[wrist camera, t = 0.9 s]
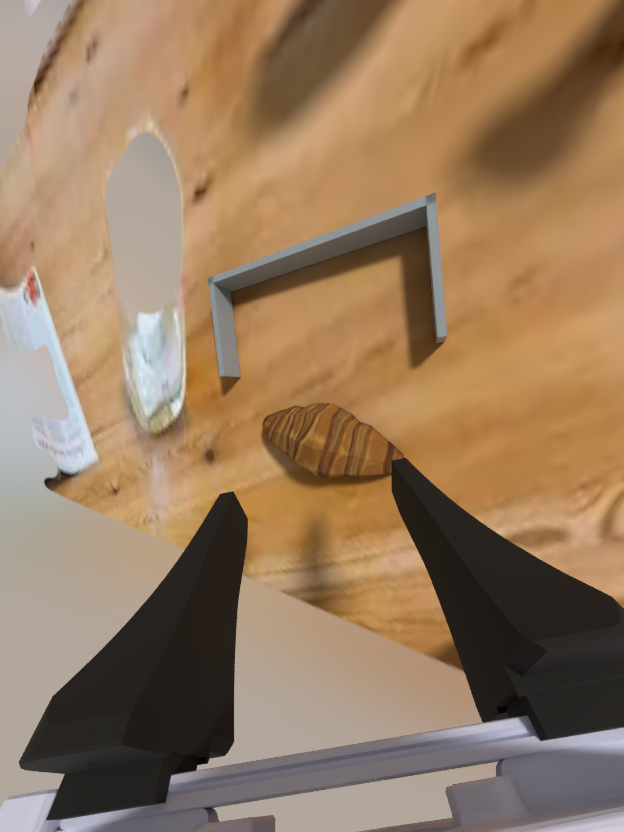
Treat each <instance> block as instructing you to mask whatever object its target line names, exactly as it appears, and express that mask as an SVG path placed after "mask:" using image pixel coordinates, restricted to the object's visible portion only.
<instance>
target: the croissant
mask: <svg viewBox="0 0 624 832" xmlns="http://www.w3.org/2000/svg"><path fill="white" fill-rule="evenodd" d="M263 430H264V432H265V433H266V435H267V436H268V438H269V439H270V440H271V441H272V442H273V443H274V444H275V445H277V446H278V447H279V448H280V449H281V450H282V451H283V452H284V453H285V454H287V455H289V456H290V457H291V458H292V459H293V460H294V461H295V462H296V463H297V464H298V465H300V466H301V467H303V468H304V469H306V470H307V471H309V472H310V473H311V474H313V475H314V476H316V477H326V478H339V477H343V476H348V475H349V476H352V477H354V478H357V479H359V478H366V477H373V476H380V475H385V474H389V473H391V460H396V459H401V458H403V453H401V452H400V451H399V450H398V449H397V448H396V447H395V446H394V445H393V444H392V443H390V442H389V441H388V440H387V439H386V438H385V437H384V436H382V435H381V434H380V433H379V432H378V431H377V430H376V429H374V428H373V427H372V426H371V425H368V424H365V423H362V422H360V421H359V420H358V419H357V418H356V417H355V416H353V415H352V414H351V413H350V412H348V411H346V410H344V409H342V408H340V407H338V406H336V405H334V404H332V403H331V404H311V405H309V406H307V407H305V408H304V407H299V406H294V407H291V408H288V409H285V410H282V411H279V412H276V413H274V414H271V415H268V416H267V417H265V419H264V422H263Z"/></svg>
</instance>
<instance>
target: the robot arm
mask: <svg viewBox="0 0 624 832" xmlns="http://www.w3.org/2000/svg"><path fill="white" fill-rule="evenodd" d="M391 474H392V493H393V496H394V499H395V502H396V504H397V507H398V510H399V512H400V515H401V517H402V519H403V521H404V523H405V525H406V527H407V529H408V531H409V533H410V535H411V537H412V539H413V541H414V543H415V545H416V547H417V550H418V552H419V554H420V556H421V558H422V560H423V562H424V564H425V566H426V569H427V571H428V573H429V576H430V578H431V581H432V584H433V586H434V589H435V591H436V594H437V596H438V599H439V602H440V604H441V607H442V610H443V613H444V615H445V618H446V621H447V623H448V626H449V629H450V632H451V634H452V637H453V640H454V643H455V646H456V648H457V651H458V654H459V657H460V660H461V663H462V666H463V669H464V672H465V675H466V677H467V680H468V683H469V686H470V689H471V692H472V695H473V698H474V701H475V704H476V707H477V710H478V712H479V715H480V717H481V719H482V722H483V723H479V724H473V725H467V726H461V727H455V728H449V729H443V730H437V731H431V732H425V733H419V734H413V735H407V736H401V737H396V738H389V739H383V740H377V741H372V742H365V743H359V744H353V745H347V746H341V747H336V748H329V749H323V750H318V751H312V752H305V753H299V754H293V755H287V756H281V757H276V758H269V759H263V760H257V761H251V762H246V763H240V764H233V765H227V766H222V767H216V768H210V769H203V770H198V771H196V769H197V765H201V764H207V763H208V761H209V758H215V757H221V756H225V755H226V753H228V751H229V750H230V748H231V746H232V744H233V742H234V667H235V666H234V664H235V641H236V623H237V608H238V598H239V591H240V584H241V578H242V572H243V565H244V559H245V552H246V545H247V529H248V518H247V517H246V515H245V513H244V511H243V509H242V507H241V505H240V503H239V501H238V499H237V498H236V496H235V494H234V492H228V493H223V494H220V495H219V497H218V498H217V500H216V501H215V503H214V505H213V506H212V508H211V510H210V511H209V513H208V515H207V516H206V518H205V520H204V521H203V523H202V524H201V526H200V528H199V529H198V531H197V532H196V534H195V536H194V537H193V539H192V540H191V542H190V543H189V545H188V546H187V548H186V549H185V551H184V552H183V554H182V555H181V557H180V558H179V559H178V561H177V562H176V564H175V565H174V566H173V568H172V569H171V570H170V572H169V573H168V574H167V576H166V577H165V578H164V580H163V581H162V582H161V583H160V585H159V586H158V587H157V589H156V590H155V591H154V592H153V594H152V595H151V596H150V597H149V598H148V599H147V601H146V602H145V603H144V604H143V605H142V606H141V607H140V609H139V610H138V611H137V612H136V613H135V615H134V616H133V617H132V618H131V619H130V620H129V621H128V622H127V623H126V625H125V626H124V627H123V628H122V629H121V630H120V631H119V632H118V633H117V634H116V635H115V636H114V637H113V638H112V639H111V641H109V642H108V644H107V645H106V646H105V647H104V648H103V649H102V650H101V651H100V652H99V653H98V654H97V655H96V656H95V657H94V658H93V659H92V660H91V661H90V662H89V663H87V664H86V665H85V666H84V668H82V669H81V670H80V671H79V672H78V673H77V674H76V675H75V676H74V677H73V678H72V679H71V680H70V681H69V682H68V683H67V684H65V685H64V686H63V687H62V688H61V689H60V690H59V691H58V692H57V693H56V694H55V695H54V696H53V697H52V699H51V701H50V702H49V705H48V706H47V708H46V710H45V712H44V714H43V716H42V718H41V720H40V722H39V724H38V726H37V728H36V730H35V732H34V734H33V736H32V738H31V739H30V742H29V744H28V745H27V747H26V749H25V751H24V753H23V755H22V757H21V759H20V761H19V764H20V767H21V768H22V769H24V770H30V771H39V772H51V773H62V774H65V775H64V778H63V780H62V782H61V785H60V787H59V789H54V790H45V791H38V792H32V793H26V794H20V795H15V796H9V797H8V798H7V799H6V800H5V801H4V803H3V805H2V807H1V809H0V832H275V818H274V816H273V815H270V816H262V817H250V818H243V819H236V820H229V821H222V822H220V821H219V820H218V816H217V813H216V811H215V810H214V809H213V808H215V807H221V806H227V805H233V804H239V803H246V802H252V801H258V800H264V799H270V798H276V797H283V796H288V795H295V794H301V793H307V792H313V791H319V790H326V789H331V788H338V787H344V786H350V785H356V784H362V783H369V782H375V781H380V780H387V779H393V778H399V777H405V776H412V775H417V774H424V773H430V772H436V771H442V770H448V769H454V768H461V767H467V766H473V765H479V764H485V763H492V762H498V761H500V762H498V763H497V766H496V777H494V778H488V779H482V780H476V781H470V782H465V783H459V784H453V785H452V786H449V787H447V788H446V795H447V798H448V802H449V805H450V808H451V812H452V816H453V818H449V819H442V820H435V821H428V822H420V823H413V824H407V825H400V826H392V827H386V828H379V829H373V830H367V831H361V832H624V608H623V607H622V606H621V605H620V604H619V603H618V602H617V601H616V600H614V599H613V598H612V597H611V596H609V595H607V594H605V593H603V592H601V591H599V590H597V589H595V588H593V587H591V586H589V585H587V584H585V583H583V582H581V581H579V580H577V579H575V578H573V577H571V576H569V575H567V574H565V573H563V572H562V571H560V570H558V569H556V568H554V567H552V566H551V565H549V564H547V563H545V562H543V561H542V560H540V559H538V558H536V557H535V556H533V555H531V554H530V553H528V552H526V551H525V550H523V549H521V548H520V547H518V546H516V545H515V544H513V543H511V542H510V541H508V540H506V539H505V538H503V537H502V536H500V535H499V534H497V533H496V532H494V531H493V530H491V529H490V528H488V527H487V526H485V525H484V524H483V523H481V522H480V521H478V520H477V519H476V518H474V517H473V516H471V515H470V514H469V513H467V512H466V511H465V510H464V509H462V508H461V507H460V506H458V505H457V504H456V503H455V502H453V501H452V500H451V499H450V498H449V497H447V496H446V495H445V494H444V493H443V492H442V491H440V490H439V489H438V488H437V487H436V486H435V485H433V484H432V483H431V482H430V481H429V480H428V479H427V478H426V477H425V476H424V475H423V474H422V473H421V472H419V471H418V470H417V469H416V468H415V467H414V466H413V465H412V464H411V463H410V462H409V461H408V460H407V459H406V458H401V459H396V460H391Z"/></svg>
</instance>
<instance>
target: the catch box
mask: <svg viewBox="0 0 624 832" xmlns="http://www.w3.org/2000/svg"><path fill="white" fill-rule="evenodd" d="M423 227H426V232H427V244H428V255H429V267H430V279H431V291H432V303H433V315H434V327H435V339H436V344H437V343H443V342H445V340H446V337H447V328H446V316H445V303H444V291H443V279H442V267H441V255H440V243H439V231H438V218H437V206H436V194H435V193H433V194H430V195H427V196H425V197H422V198H419V199H417V200H414V201H411V202H409V203H406V204H404V205H401V206H398V207H396V208H393V209H390V210H388V211H385V212H382V213H380V214H377V215H374V216H372V217H369V218H366V219H364V220H361V221H358V222H356V223H353V224H350V225H348V226H345V227H343V228H340V229H337V230H335V231H332V232H329V233H327V234H324V235H321V236H319V237H316V238H313V239H311V240H308V241H305V242H303V243H300V244H297V245H295V246H292V247H290V248H287V249H284V250H282V251H279V252H276V253H274V254H271V255H268V256H266V257H263V258H260V259H258V260H255V261H252V262H250V263H247V264H244V265H242V266H239V267H236V268H234V269H231V270H229V271H226V272H223V273H221V274H218V275H215V276H213V277H210V278H208V283H209V292H210V300H211V308H212V317H213V325H214V333H215V341H216V350H217V358H218V366H219V375H220V377H232V378H238V377H241V376H240V367H239V359H238V350H237V342H236V333H235V325H234V316H233V307H232V299H231V292H232V291H235V290H238V289H241V288H244V287H247V286H250V285H253V284H256V283H259V282H262V281H265V280H268V279H271V278H274V277H277V276H280V275H283V274H286V273H289V272H292V271H295V270H297V269H300V268H303V267H306V266H309V265H312V264H315V263H318V262H321V261H324V260H327V259H330V258H333V257H336V256H339V255H342V254H345V253H348V252H351V251H354V250H357V249H360V248H363V247H366V246H369V245H372V244H375V243H378V242H381V241H384V240H387V239H390V238H393V237H396V236H399V235H402V234H405V233H408V232H411V231H414V230H417V229H420V228H423Z"/></svg>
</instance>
